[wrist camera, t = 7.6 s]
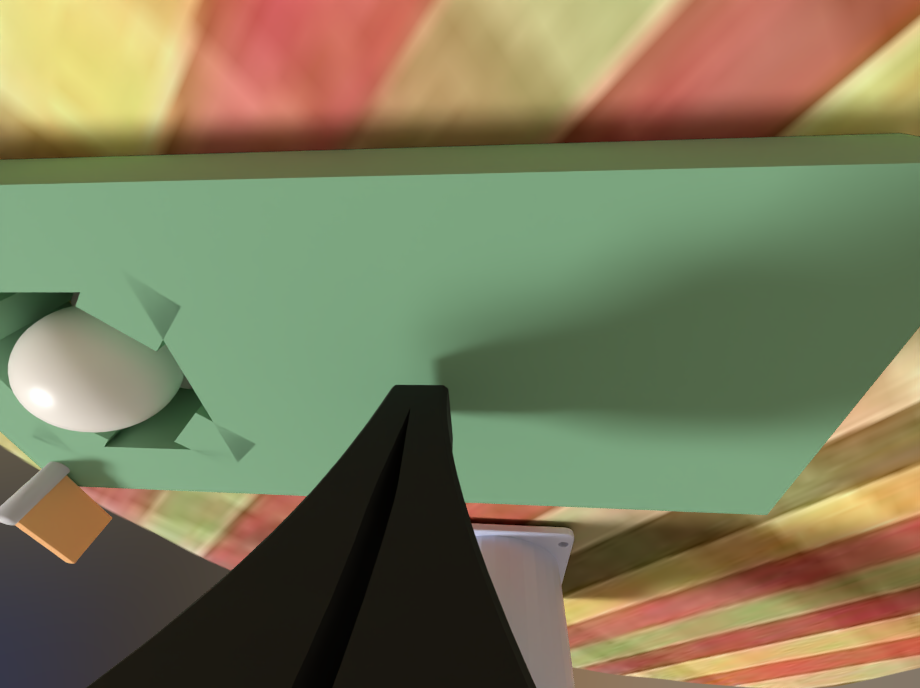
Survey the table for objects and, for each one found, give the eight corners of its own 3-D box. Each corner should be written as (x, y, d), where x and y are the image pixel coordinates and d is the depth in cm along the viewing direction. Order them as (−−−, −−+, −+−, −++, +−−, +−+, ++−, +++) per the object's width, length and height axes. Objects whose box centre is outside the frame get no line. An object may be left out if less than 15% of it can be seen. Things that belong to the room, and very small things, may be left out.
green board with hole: (705, 475, 17) (774, 607, 13) (145, 456, 19) (49, 565, 14) (901, 133, 9) (1243, 192, 5) (-99, 162, 11) (-449, 222, 7)
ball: (17, 351, 12) (-37, 289, 9) (166, 325, 15) (161, 269, 12) (51, 465, 12) (4, 438, 9) (200, 417, 14) (203, 383, 11)
